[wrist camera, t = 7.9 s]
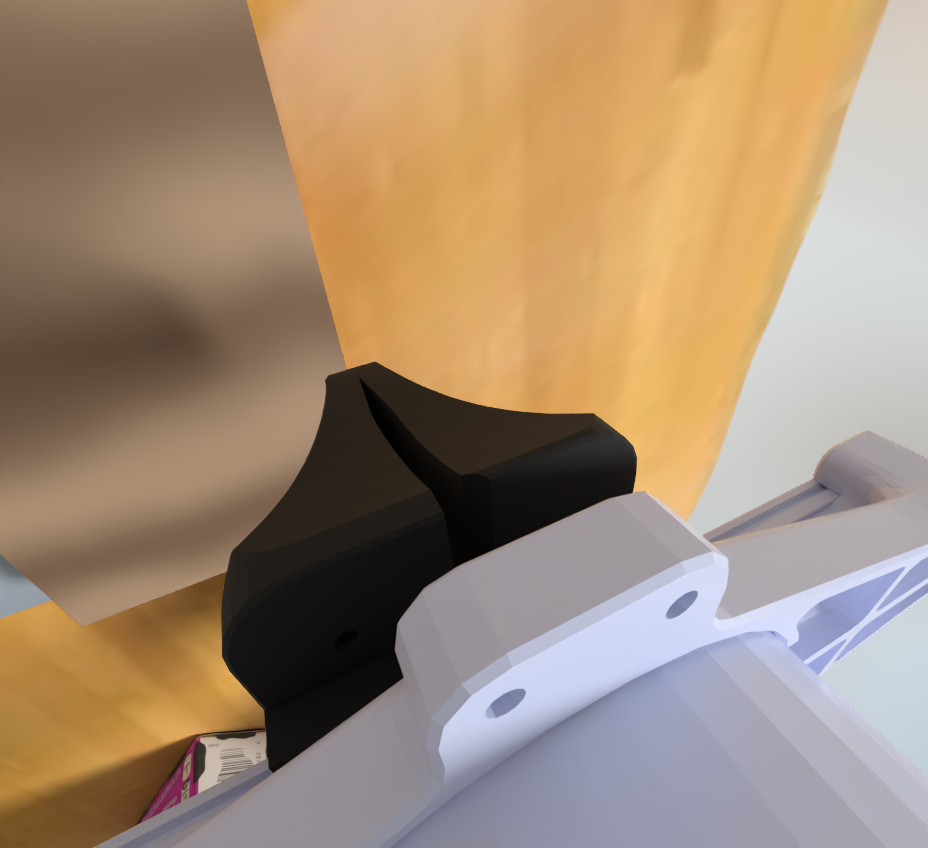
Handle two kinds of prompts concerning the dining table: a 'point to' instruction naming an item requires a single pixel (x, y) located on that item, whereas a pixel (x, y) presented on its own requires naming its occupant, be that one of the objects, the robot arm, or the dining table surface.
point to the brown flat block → (147, 298)
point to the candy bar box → (209, 766)
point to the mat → (17, 590)
